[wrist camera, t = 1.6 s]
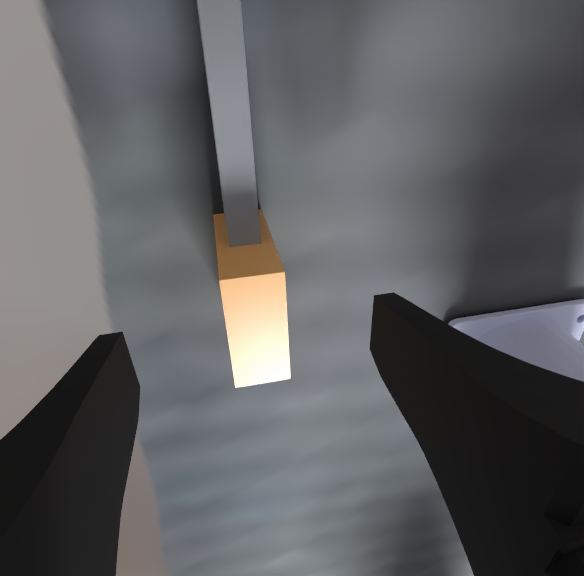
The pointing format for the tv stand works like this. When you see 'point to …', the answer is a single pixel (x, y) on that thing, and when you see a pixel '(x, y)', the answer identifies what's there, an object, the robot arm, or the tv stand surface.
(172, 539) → the tv stand surface
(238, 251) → the grey handled mallet
